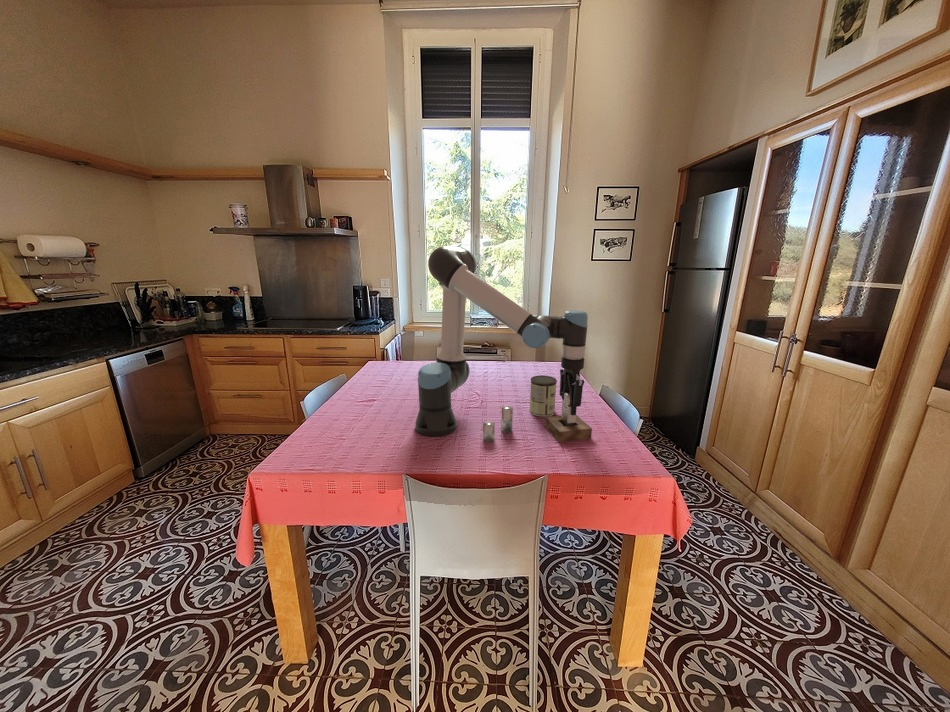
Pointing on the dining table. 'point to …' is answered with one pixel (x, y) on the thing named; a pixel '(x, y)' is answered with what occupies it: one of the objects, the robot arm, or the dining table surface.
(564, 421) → the long pin
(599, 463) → the dining table surface
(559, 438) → the hole block
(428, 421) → the robot arm
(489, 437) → the short pin
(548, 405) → the coffee can
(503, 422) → the medium pin
